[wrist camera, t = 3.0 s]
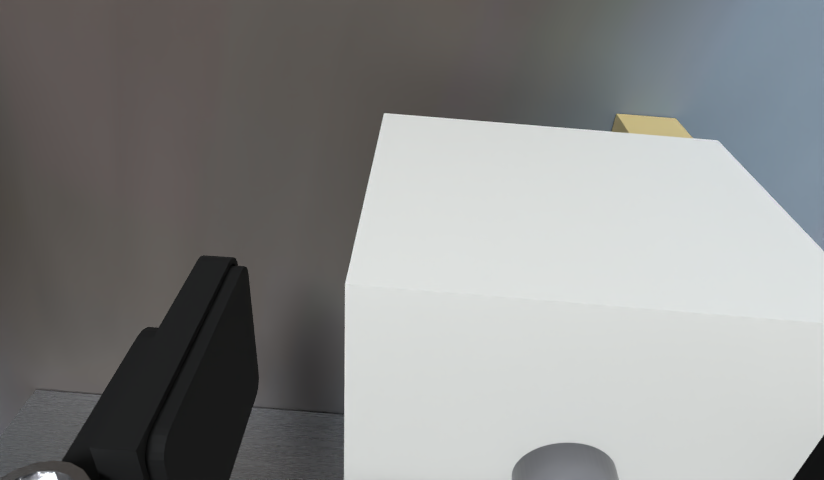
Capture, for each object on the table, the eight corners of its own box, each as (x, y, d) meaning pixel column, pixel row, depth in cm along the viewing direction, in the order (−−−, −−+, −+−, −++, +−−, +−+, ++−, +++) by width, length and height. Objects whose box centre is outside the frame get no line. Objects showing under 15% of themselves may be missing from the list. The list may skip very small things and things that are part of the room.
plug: (688, 109, 12) (983, 418, 5) (612, 332, 15) (737, 688, 9) (390, 85, 12) (326, 363, 5) (379, 313, 15) (332, 654, 9)
